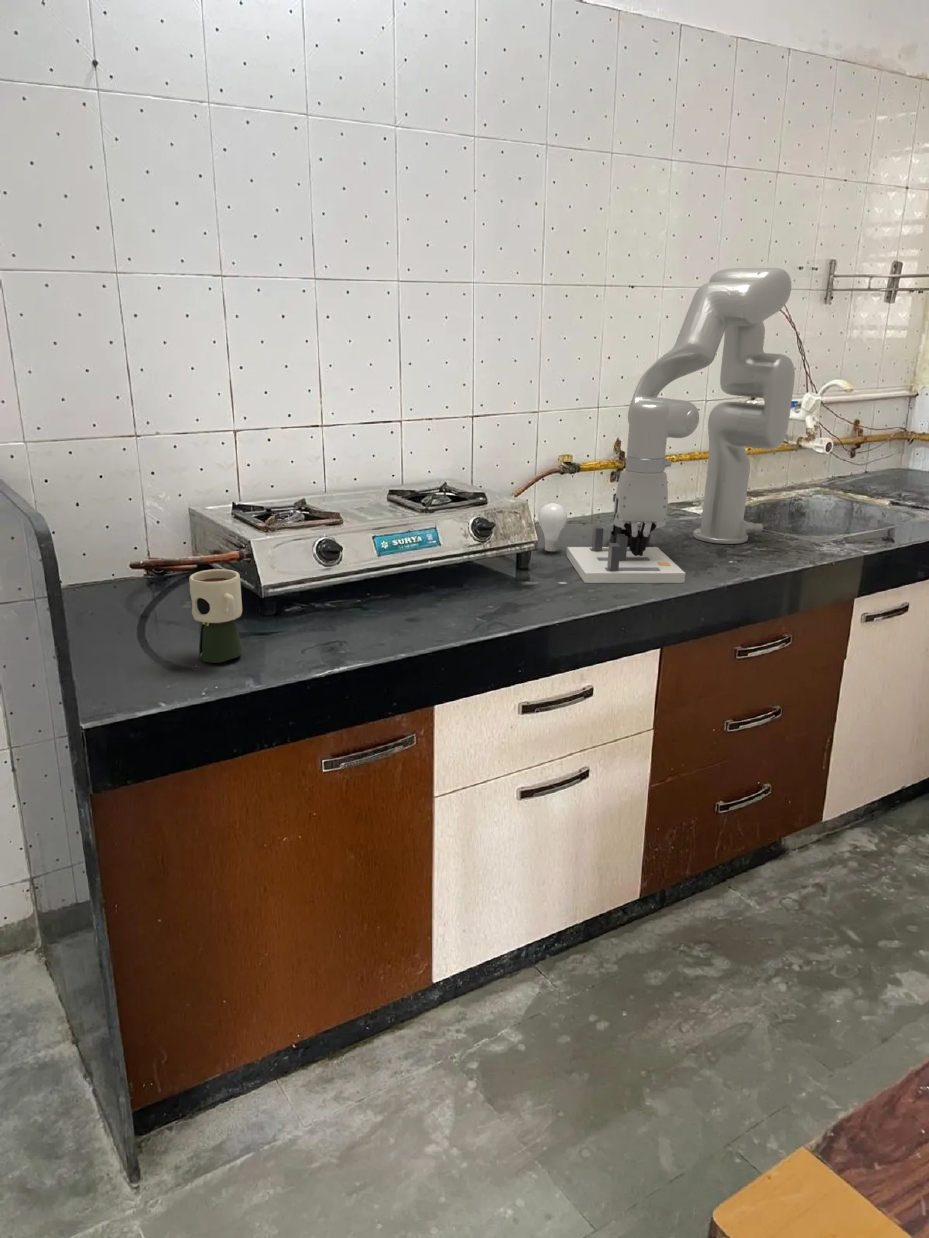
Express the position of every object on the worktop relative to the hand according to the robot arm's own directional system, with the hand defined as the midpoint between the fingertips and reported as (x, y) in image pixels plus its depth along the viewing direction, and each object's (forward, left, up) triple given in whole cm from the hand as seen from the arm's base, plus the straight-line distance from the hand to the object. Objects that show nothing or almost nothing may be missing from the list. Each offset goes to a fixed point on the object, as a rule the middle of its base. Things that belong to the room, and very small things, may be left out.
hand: (636, 554), depth 180 cm
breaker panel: (+3, 0, -3) cm, 4 cm away
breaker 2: (+7, +7, -1) cm, 10 cm away
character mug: (+76, +48, -3) cm, 90 cm away
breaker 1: (+7, -8, -1) cm, 10 cm away
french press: (-3, -17, -3) cm, 18 cm away
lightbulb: (+16, -13, -3) cm, 21 cm away
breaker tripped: (+3, 0, -1) cm, 4 cm away
